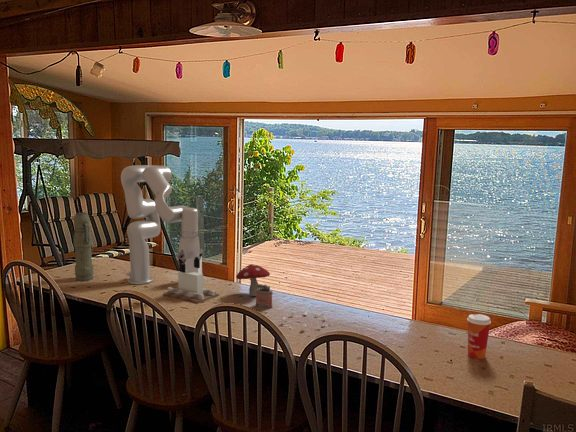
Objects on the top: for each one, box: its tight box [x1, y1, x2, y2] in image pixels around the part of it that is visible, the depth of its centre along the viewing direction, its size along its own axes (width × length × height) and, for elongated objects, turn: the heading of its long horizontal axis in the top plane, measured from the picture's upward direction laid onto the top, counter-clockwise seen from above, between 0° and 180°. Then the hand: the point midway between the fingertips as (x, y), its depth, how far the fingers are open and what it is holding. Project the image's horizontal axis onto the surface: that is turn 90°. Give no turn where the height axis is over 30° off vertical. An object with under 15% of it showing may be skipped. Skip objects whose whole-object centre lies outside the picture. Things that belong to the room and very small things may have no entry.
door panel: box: [177, 270, 204, 295], centre depth 236 cm, size 12×4×10 cm, turn 58°
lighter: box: [255, 283, 273, 310], centre depth 222 cm, size 8×3×10 cm, turn 65°
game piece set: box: [280, 309, 329, 332], centre depth 203 cm, size 19×20×4 cm
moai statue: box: [72, 212, 94, 282], centre depth 261 cm, size 9×12×35 cm
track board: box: [163, 286, 219, 304], centre depth 237 cm, size 22×14×3 cm, turn 58°
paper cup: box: [466, 313, 492, 360], centre depth 172 cm, size 8×8×14 cm
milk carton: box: [185, 256, 203, 274], centre depth 257 cm, size 7×7×19 cm
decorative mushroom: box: [235, 263, 271, 297], centre depth 238 cm, size 16×16×15 cm
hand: (189, 269), depth 236 cm, fingers open, 9 cm apart
